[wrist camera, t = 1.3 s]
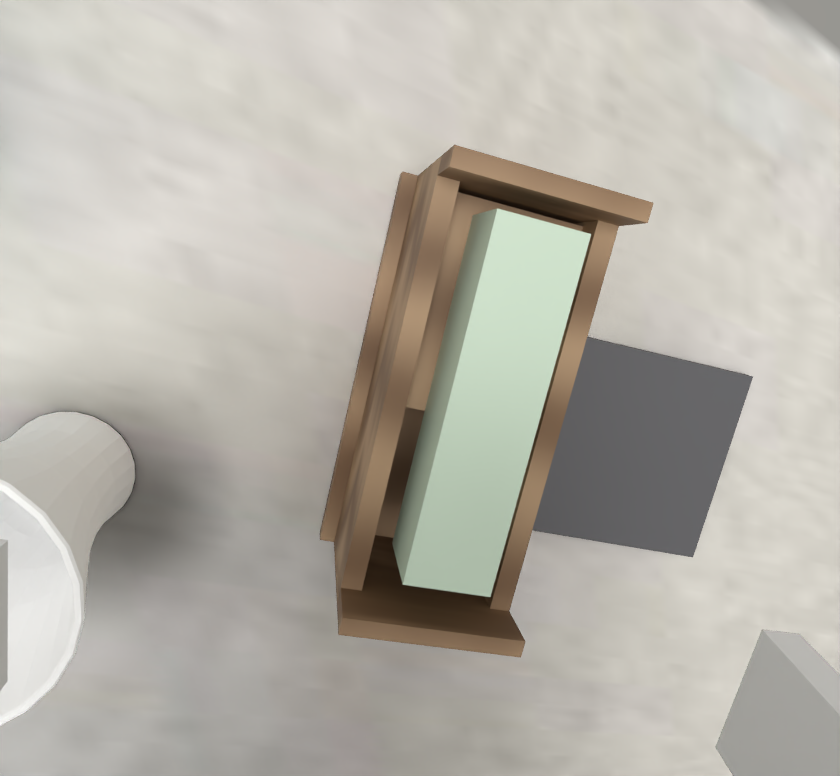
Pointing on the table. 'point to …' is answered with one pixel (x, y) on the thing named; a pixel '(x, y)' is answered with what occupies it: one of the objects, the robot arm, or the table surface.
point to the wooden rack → (410, 384)
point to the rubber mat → (640, 449)
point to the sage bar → (486, 399)
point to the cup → (53, 540)
